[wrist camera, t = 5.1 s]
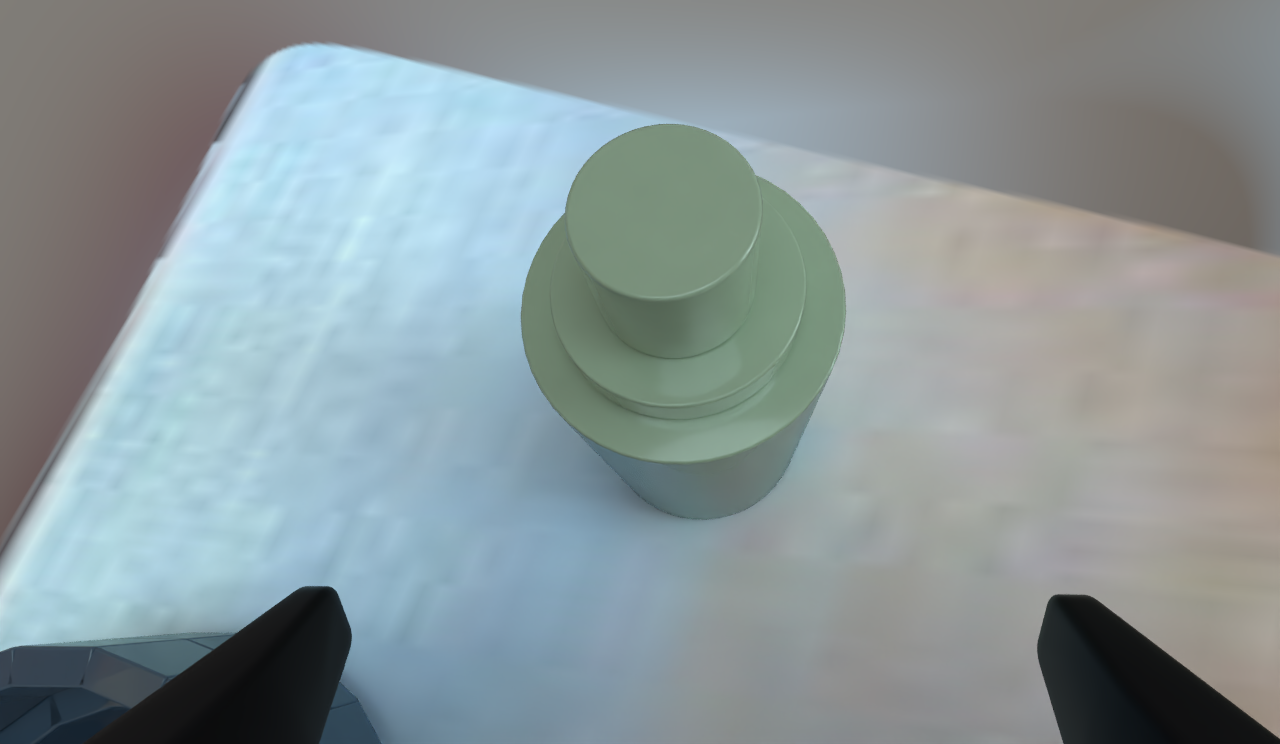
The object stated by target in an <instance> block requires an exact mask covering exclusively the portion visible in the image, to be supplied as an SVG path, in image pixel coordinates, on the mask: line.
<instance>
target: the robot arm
mask: <svg viewBox="0 0 1280 744" xmlns="http://www.w3.org/2000/svg"><path fill="white" fill-rule="evenodd" d="M351 641H352V634H351V628H350V625H349V622H348V620H347V617H346V614H345V612H344V609H343V606H342V604H341V601H340V598H339V596H338V594H337V592H336V591H335V590H334V589H333V588H332V587H329V586H305V587H302V588H299V589H298V590H296V591H295V592H293V593H292V594H290V595H289V596H288V597H286V598H285V599H283V600H282V601H281V602H279V603H278V604H276V605H275V606H274V607H272V608H271V609H269V610H268V611H267V612H265V613H264V614H262V615H261V616H260V617H258V618H257V619H255V620H254V621H253V622H251V623H250V624H248V625H247V626H246V627H244V628H243V629H241V630H240V631H239V632H237V633H236V634H235V635H233V636H232V637H230V638H229V639H228V640H226V641H225V642H223V643H222V644H221V645H219V646H218V647H216V648H215V649H214V650H212V651H211V652H209V653H208V654H207V655H205V656H204V657H202V658H201V659H200V660H198V661H197V662H195V663H194V664H193V665H191V666H190V667H188V668H187V669H186V670H184V671H183V672H181V673H180V674H179V675H177V676H176V677H174V678H173V679H172V680H170V681H169V682H167V683H166V684H165V685H163V686H162V687H161V688H159V689H158V690H156V691H155V692H154V693H152V694H151V695H149V696H148V697H147V698H145V699H144V700H142V701H141V702H140V703H138V704H137V705H135V706H134V707H133V708H131V709H130V710H128V711H127V712H126V713H124V714H123V715H121V716H120V717H119V718H117V719H116V720H114V721H113V722H112V723H110V724H109V725H107V726H106V727H105V728H103V729H102V730H100V731H99V732H98V733H96V734H95V735H93V736H92V737H91V738H89V739H88V740H86V741H85V742H84V743H82V744H319V743H320V740H321V737H322V734H323V731H324V728H325V724H326V721H327V718H328V715H329V712H330V709H331V706H332V703H333V700H334V697H335V694H336V691H337V687H338V684H339V681H340V678H341V675H342V672H343V669H344V666H345V663H346V660H347V657H348V654H349V650H350V647H351ZM1037 652H1038V659H1039V664H1040V667H1041V671H1042V674H1043V677H1044V680H1045V684H1046V687H1047V690H1048V694H1049V697H1050V700H1051V704H1052V707H1053V710H1054V714H1055V717H1056V720H1057V724H1058V727H1059V730H1060V734H1061V737H1062V740H1063V743H1064V744H1280V739H1279V738H1278V737H1276V736H1275V735H1274V734H1273V733H1271V732H1270V731H1269V730H1267V729H1266V728H1265V727H1263V726H1262V725H1261V724H1259V723H1258V722H1257V721H1255V720H1254V719H1253V718H1251V717H1250V716H1249V715H1248V714H1246V713H1245V712H1244V711H1242V710H1241V709H1240V708H1238V707H1237V706H1236V705H1234V704H1233V703H1232V702H1230V701H1229V700H1228V699H1227V698H1225V697H1224V696H1223V695H1221V694H1220V693H1219V692H1217V691H1216V690H1215V689H1213V688H1212V687H1211V686H1209V685H1208V684H1207V683H1205V682H1204V681H1203V680H1202V679H1200V678H1199V677H1198V676H1196V675H1195V674H1194V673H1192V672H1191V671H1190V670H1188V669H1187V668H1186V667H1184V666H1183V665H1182V664H1181V663H1179V662H1178V661H1177V660H1175V659H1174V658H1173V657H1171V656H1170V655H1169V654H1167V653H1166V652H1165V651H1163V650H1162V649H1161V648H1159V647H1158V646H1157V645H1156V644H1154V643H1153V642H1152V641H1150V640H1149V639H1148V638H1146V637H1145V636H1144V635H1142V634H1141V633H1140V632H1138V631H1137V630H1136V629H1134V628H1133V627H1132V626H1131V625H1129V624H1128V623H1127V622H1125V621H1124V620H1123V619H1121V618H1120V617H1119V616H1117V615H1116V614H1115V613H1113V612H1112V611H1111V610H1110V609H1108V608H1107V607H1106V606H1104V605H1103V604H1102V603H1100V602H1099V601H1098V600H1096V599H1095V598H1093V597H1091V596H1088V595H1062V594H1058V595H1054V596H1052V597H1051V598H1050V600H1049V602H1048V604H1047V608H1046V612H1045V615H1044V619H1043V623H1042V627H1041V631H1040V635H1039V639H1038V644H1037Z"/></svg>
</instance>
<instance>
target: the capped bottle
mask: <svg viewBox="0 0 1280 744" xmlns="http://www.w3.org/2000/svg"><path fill="white" fill-rule="evenodd" d="M845 317H846V301H845V289H844V284H843V279H842V273H841V270H840V267H839V264H838V261H837V258H836V255H835V253H834V251H833V249H832V247H831V245H830V243H829V241H828V239H827V237H826V235H825V234H824V232H823V231H822V230H821V228H820V227H819V225H818V224H817V222H816V221H815V220H814V218H813V217H812V216H811V215H810V214H809V213H808V212H807V211H806V210H805V209H804V208H803V207H802V206H801V204H800V203H798V202H797V201H796V200H795V199H793V198H792V197H791V196H790V195H789V194H787V193H786V192H785V191H783V190H782V189H780V188H779V187H777V186H775V185H774V184H772V183H771V182H769V181H767V180H765V179H763V178H761V177H759V176H756V175H755V173H754V171H753V169H752V168H751V166H750V165H749V163H748V162H747V161H746V159H745V158H744V157H743V156H742V155H741V154H740V153H739V152H738V150H737V149H735V148H734V147H733V146H732V145H731V144H729V143H728V142H727V141H725V140H724V139H722V138H720V137H719V136H717V135H715V134H713V133H710V132H708V131H706V130H703V129H700V128H696V127H692V126H687V125H679V124H658V125H652V126H646V127H642V128H638V129H635V130H632V131H629V132H627V133H624V134H622V135H620V136H618V137H616V138H615V139H613V140H611V141H610V142H608V143H607V144H605V145H604V146H602V147H601V148H600V149H599V150H598V151H596V152H595V153H594V154H593V155H592V156H591V157H590V158H589V159H588V161H587V162H586V163H585V164H584V165H583V167H582V168H581V170H580V171H579V172H578V174H577V176H576V178H575V180H574V182H573V184H572V186H571V189H570V192H569V194H568V198H567V202H566V207H565V213H564V214H563V215H562V216H561V218H560V219H559V220H558V221H557V222H556V223H555V224H554V225H553V227H552V228H551V230H550V231H549V233H548V234H547V236H546V237H545V238H544V240H543V241H542V243H541V245H540V247H539V249H538V251H537V253H536V255H535V257H534V259H533V261H532V264H531V267H530V270H529V272H528V275H527V278H526V283H525V287H524V292H523V296H522V307H521V329H522V339H523V344H524V349H525V354H526V357H527V360H528V363H529V366H530V369H531V372H532V374H533V376H534V378H535V380H536V382H537V384H538V386H539V388H540V390H541V391H542V393H543V394H544V396H545V397H546V398H547V400H548V401H549V403H550V404H551V406H552V407H553V408H554V409H555V410H556V411H557V412H558V413H559V415H560V416H561V417H562V418H563V419H564V420H565V421H566V422H567V423H568V424H569V425H570V426H571V427H572V428H573V429H574V430H575V431H576V432H577V433H578V434H579V435H580V436H581V437H582V438H583V439H584V441H585V442H586V443H587V444H588V445H589V446H590V447H591V448H592V449H593V450H594V451H595V452H596V453H597V454H598V455H599V456H600V457H601V458H602V459H603V460H604V461H605V462H606V463H607V464H608V465H609V466H610V467H611V468H612V469H613V470H614V471H615V472H616V473H617V474H618V475H619V476H620V477H621V478H622V480H623V481H624V482H625V483H626V484H627V485H628V486H629V487H630V488H631V489H632V490H633V491H634V492H635V493H636V494H637V495H638V496H640V497H641V498H642V499H643V500H645V501H646V502H647V503H649V504H650V505H652V506H654V507H655V508H657V509H659V510H661V511H664V512H666V513H668V514H671V515H675V516H678V517H682V518H688V519H702V520H707V519H716V518H722V517H726V516H730V515H733V514H736V513H738V512H741V511H743V510H745V509H747V508H749V507H751V506H752V505H754V504H756V503H757V502H758V501H760V500H761V499H762V498H764V497H765V496H766V495H767V494H768V493H769V492H770V491H771V490H772V489H773V488H774V487H775V486H776V484H777V483H778V482H779V480H780V479H781V478H782V476H783V474H784V473H785V471H786V469H787V467H788V465H789V463H790V461H791V459H792V457H793V454H794V452H795V450H796V448H797V446H798V444H799V441H800V439H801V437H802V435H803V433H804V430H805V428H806V426H807V424H808V422H809V420H810V417H811V415H812V413H813V411H814V409H815V406H816V404H817V402H818V400H819V398H820V396H821V393H822V391H823V389H824V387H825V385H826V382H827V380H828V378H829V376H830V374H831V371H832V369H833V366H834V364H835V361H836V359H837V356H838V354H839V351H840V347H841V343H842V339H843V334H844V328H845Z"/></svg>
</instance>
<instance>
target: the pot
mask: <svg viewBox="0 0 1280 744" xmlns="http://www.w3.org/2000/svg"><path fill="white" fill-rule="evenodd" d="M235 634H236V633H180V634H167V635H154V636H141V637H128V638H115V639H102V640H89V641H76V642H63V643H51V644H38V645H25V646H19V647H12V648H9V649H7V650H4V651H1V652H0V744H82V743H84V742H85V741H86V740H88V739H89V738H91V737H92V736H93V735H95V734H96V733H98V732H99V731H100V730H102V729H103V728H105V727H106V726H107V725H109V724H110V723H112V722H113V721H114V720H116V719H117V718H119V717H120V716H121V715H123V714H124V713H126V712H127V711H128V710H130V709H131V708H133V707H134V706H135V705H137V704H138V703H140V702H141V701H142V700H144V699H145V698H147V697H148V696H149V695H151V694H152V693H154V692H155V691H156V690H158V689H159V688H161V687H162V686H163V685H165V684H166V683H167V682H169V681H170V680H172V679H173V678H174V677H176V676H177V675H179V674H180V673H181V672H183V671H184V670H186V669H187V668H188V667H190V666H191V665H193V664H194V663H195V662H197V661H198V660H200V659H201V658H202V657H204V656H205V655H207V654H208V653H209V652H211V651H212V650H214V649H215V648H216V647H218V646H219V645H221V644H222V643H223V642H225V641H226V640H228V639H229V638H230V637H232V636H233V635H235ZM357 701H358V699H357V698H356V697H355V696H354V695H353V694H352V693H351V692H349V691H348V690H347V689H346V688H345V687H344V686H343V685H342V684H341V683H340V682H339V684H338V687H337V691H336V694H335V697H334V700H333V703H332V706H331V709H330V712H329V715H328V718H327V721H326V724H325V728H324V731H323V734H322V737H321V740H320V743H319V744H381V742H380V740H379V738H378V737H377V735H376V733H375V731H374V729H373V727H372V725H371V723H370V721H369V720H368V718H367V716H366V714H365V712H364V710H363V708H362V706H361V704H360V703H359V702H357Z"/></svg>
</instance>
